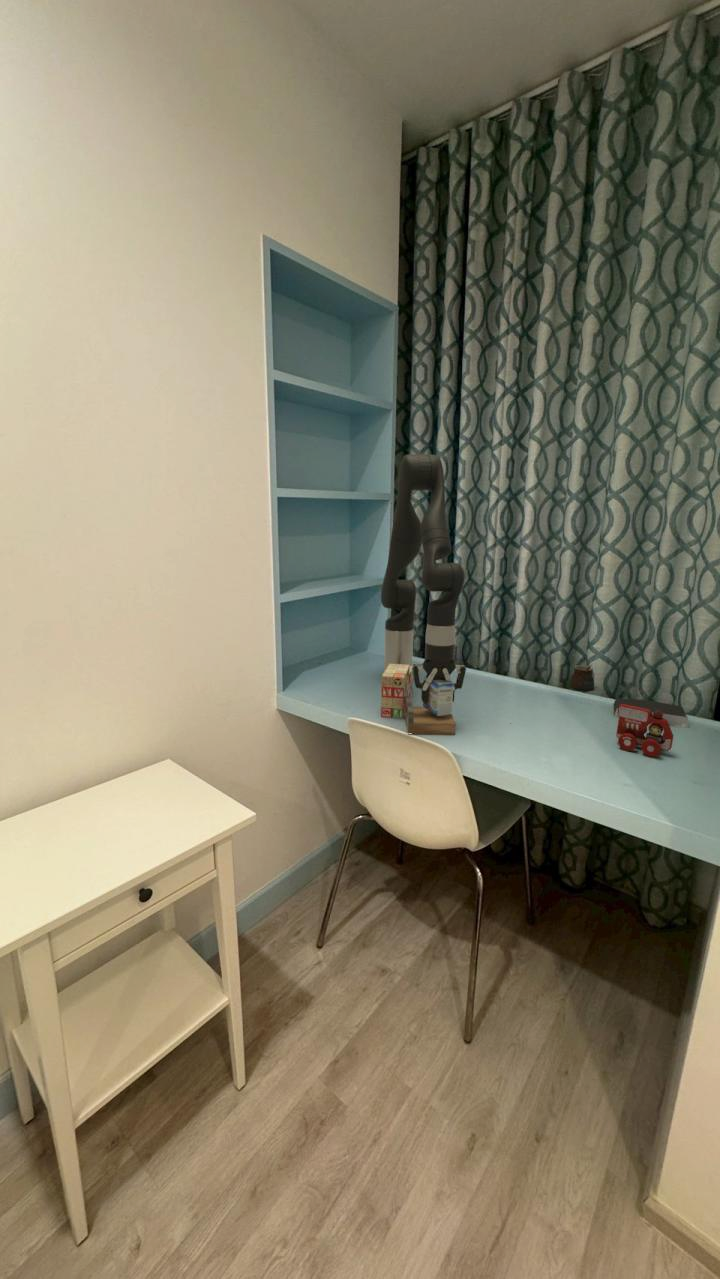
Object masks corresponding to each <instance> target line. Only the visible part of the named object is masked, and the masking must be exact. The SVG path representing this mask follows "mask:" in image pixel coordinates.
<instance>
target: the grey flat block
mask: <svg viewBox="0 0 720 1279" xmlns="http://www.w3.org/2000/svg"><path fill="white" fill-rule="evenodd" d="M621 704H626V705H630V706H635V707H640V708H644V709H649V710H650V711H651V712H652V715H653V713H654V712H655V711H657V710H659V711H661V712H662V713H663V717H662V718H664V719H666V720H667V721H668V723H669V726H670V727H675V728H686V729H689V728H690V724H689V720H688V719H689V718H688V716H687V714H686V712H685V710H684V707H683V706H681V705H676V704H670V703H665V702H659V701H654V700H653V701H652V700H648V699H647V700H646V699H638V698H623V697H622V698H621V697H619V698H615V700H614V701H613V718H618V719H619V716H618V713H617V712H618V707H619V705H621ZM651 724H652V723H651ZM651 724H650V725H651Z"/></svg>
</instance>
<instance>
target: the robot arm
mask: <svg viewBox="0 0 720 1279" xmlns="http://www.w3.org/2000/svg"><path fill="white" fill-rule="evenodd" d="M444 475H445V474H444V466H443V462H442V460H441V458H440V456H438V455H436V454H424V453H423V454H422V453H421V454H420V453H419V454H417V453H416V454H414V453H411V454H405V455H404V456H403V458H402V459H401V462H400V467H399V472H398V484H397V494H396V496H397V497H396V504H395V505H396V506H395V507H396V508H395V512H394V513H395V514H394V519H393V524H392V529H391V534H390V543H389V550H388V558H387V559H388V560H387V565H386V569H385V573H384V577H383V581H382V586H381V591H380V592H381V593H380V600H381V601H380V602H381V604H382V607H384V608H386V609H392V610H393V609H401V611H400V612H399V613H398V614H396V615H394V616H392V617H389V618H387V619H386V620H385V625H384V626H385V627H384V669H383V670H384V672H385V670H386V669H387V667H388V665H389V664H403V665H410V666H412V667H413V683H414V686H415V688H416V689H419V690H421V701H422V703H423V702H424V704H427V697H428V690H427V688H428V686H429V684H430V683H431V681H432V679H433V680H437V679H441V680H445V679H446V680H447V682H451V683H453V701H452V703H453V702H454V701H455V692H456V690H458V689H459V690H461V689H462V687H463V685H464V680H465V675H466V671H467V668H466V666H465V665H464V664H456V663H455V650H456V648H455V647H456V639H457V638H456V609H457V605H458V601H459V598H460V595H461V594H462V593H461V592H462V590H463V586H464V583H465V570H464V568H463V567H462V565H461V564H459V563H456V562H437V561H439V560H443V559H445V558H447V557H449V556H450V554H451V552H452V544H451V538H450V534H449V533H450V532H449V529H448V523H447V514H446V494H445V493H446V492H445V490H446V489H445V476H444ZM413 491H429V492H430V494H431V499H430V502H429V505H428V507H427V510H426V511H425V513H424V516H423V518H422V521H421V520H420V518H419V515H418V514H417V513H416V510H415V508H414V505H413V503H412V493H413ZM421 548H423V565H422V572H421V583H422V585H423V587H424V589H426V590H427V591H428V592H445V593H444V595H443V596H442V597H441V598H437V599H434V600H431V601H430V602H429V603H428V605H427V616H426V617H427V620H426V622H427V623H426V629H425V641H424V642H425V643H424V644H425V645H424V647H425V648H424V661H423V662H422V663H421V664H416V663H413V653H414V652H413V650H414V647H413V646H414V623H415V608H416V599H417V588H416V584H415V581H413V580H412V579H399V577H400V575H401V574H402V573H403V572H404V570H405V569H406V568H407V567H408V566H409V565H410V564H412V562H413V561H414V560H415V559H416V557H417V556H419V552H420V551H421ZM422 670H424V672H425V673H426V674H425V676H424V678H425V679H423V681H422V682H421V681H420V674H421V672H422ZM455 670H456V673H457V677H456V680H455V682H453V680H452V678H451V674H452V673H453V672H454V671H455ZM384 672H383V673H384Z"/></svg>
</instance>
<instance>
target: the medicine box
mask: <svg viewBox="0 0 720 1279" xmlns="http://www.w3.org/2000/svg"><path fill="white" fill-rule="evenodd" d="M424 679H425V677H424ZM424 679H423V680H424ZM453 684H454V682H453V683H451V682H447V680H446V679H445V680H441V679H437V680H433V679H432V681H431V683H430V684H429V686H428V688H427V690H428V697H427V704H424V702H422V707H425V708H426V709H428V710H429V711H431V712H432V713H434V714H435V715H437V716H443V715H450V714H452V715H453V713H452V712H453V702H454V701H453ZM452 701H453V702H452Z"/></svg>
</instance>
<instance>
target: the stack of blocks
mask: <svg viewBox="0 0 720 1279" xmlns="http://www.w3.org/2000/svg"><path fill="white" fill-rule="evenodd" d="M412 666H413V665H412ZM412 666H410V665H403V664H389V665H388V667H387V669H386V670H385V672H383V673H382V676H381V708H380V713H381V714H380V717H381V718H388V719H389V718H390V719H399V720H400V719H401V720H403V719H404V718H405V696H408V697H410V699H411V697H412V694H413V689H414V688H413V686H414V684H413V683H414V674H413V667H412Z"/></svg>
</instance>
